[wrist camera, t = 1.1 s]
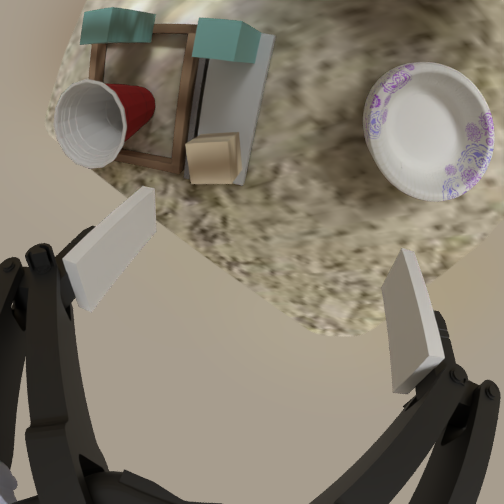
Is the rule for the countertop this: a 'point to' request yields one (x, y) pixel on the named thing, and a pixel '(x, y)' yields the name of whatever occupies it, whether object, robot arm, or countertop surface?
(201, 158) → the beech cube
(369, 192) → the countertop surface
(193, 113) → the divider rail
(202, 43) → the sled
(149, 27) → the frame
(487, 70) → the countertop surface
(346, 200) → the countertop surface
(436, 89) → the paper bowls
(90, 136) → the plastic cup
